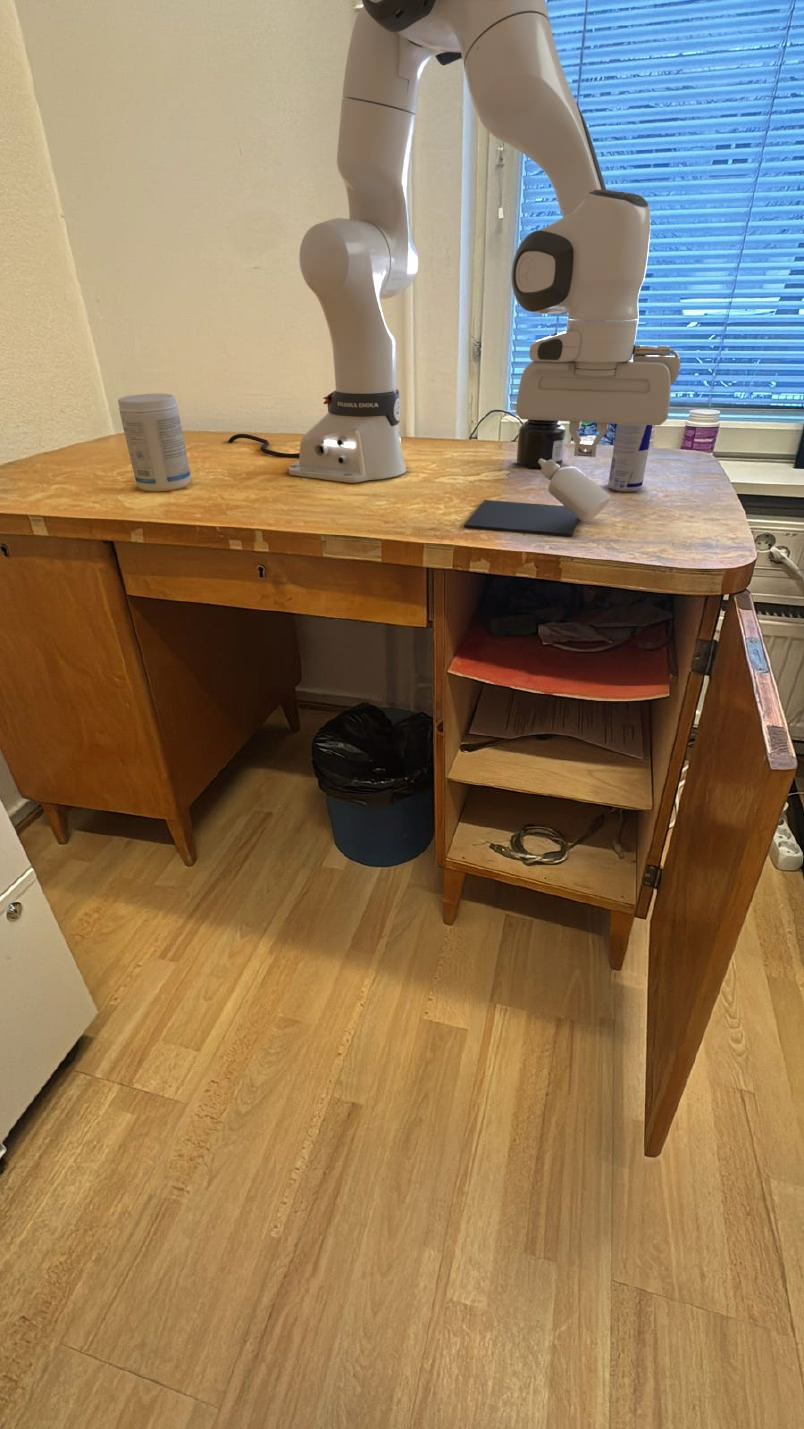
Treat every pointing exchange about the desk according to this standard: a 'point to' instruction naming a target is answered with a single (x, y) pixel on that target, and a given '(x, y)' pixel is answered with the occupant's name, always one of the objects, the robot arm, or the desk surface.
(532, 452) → the ink bottle
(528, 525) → the mat
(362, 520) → the desk surface
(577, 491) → the eye dropper bottle
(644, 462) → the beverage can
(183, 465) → the supplement tub
